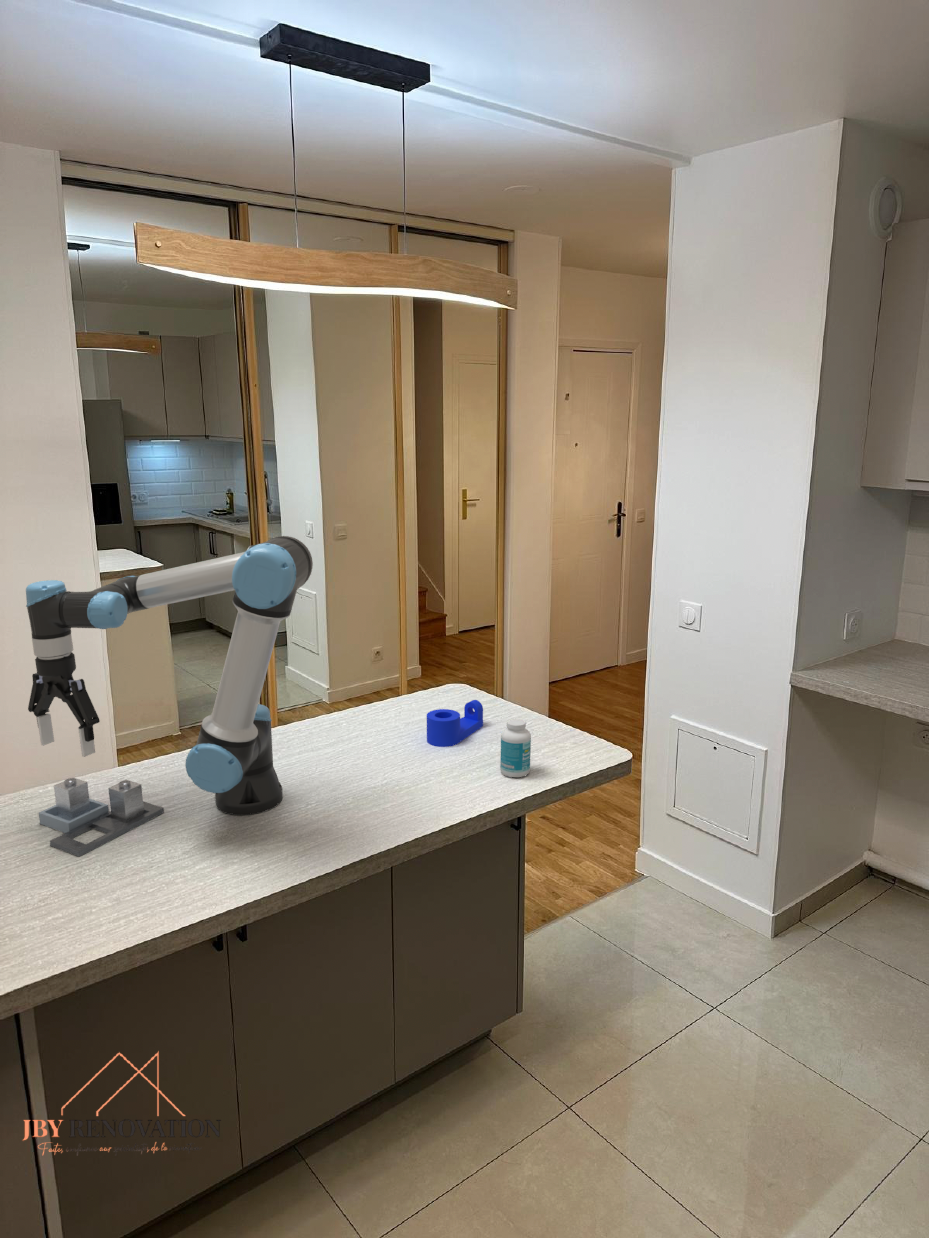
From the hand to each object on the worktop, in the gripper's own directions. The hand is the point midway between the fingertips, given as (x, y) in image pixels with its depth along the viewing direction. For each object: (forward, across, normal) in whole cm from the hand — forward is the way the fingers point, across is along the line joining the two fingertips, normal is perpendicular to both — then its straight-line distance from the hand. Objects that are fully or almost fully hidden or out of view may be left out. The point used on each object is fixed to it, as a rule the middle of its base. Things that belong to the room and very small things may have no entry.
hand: (68, 748), depth 184 cm
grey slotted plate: (+17, -9, -1) cm, 19 cm away
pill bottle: (+19, -73, -70) cm, 103 cm away
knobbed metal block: (+16, +1, 0) cm, 16 cm away
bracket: (+19, -48, -84) cm, 99 cm away
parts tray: (+17, +1, 0) cm, 17 cm away
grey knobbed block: (+17, -9, -6) cm, 20 cm away
